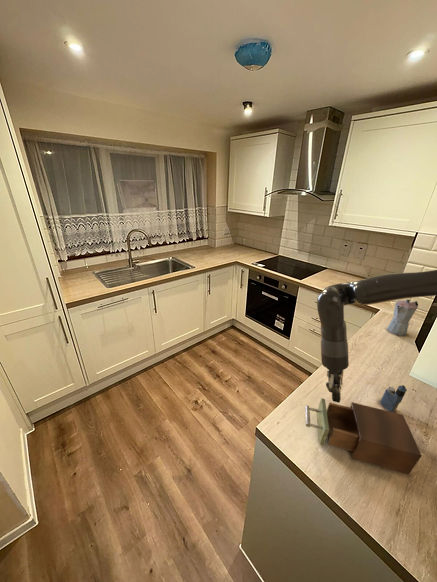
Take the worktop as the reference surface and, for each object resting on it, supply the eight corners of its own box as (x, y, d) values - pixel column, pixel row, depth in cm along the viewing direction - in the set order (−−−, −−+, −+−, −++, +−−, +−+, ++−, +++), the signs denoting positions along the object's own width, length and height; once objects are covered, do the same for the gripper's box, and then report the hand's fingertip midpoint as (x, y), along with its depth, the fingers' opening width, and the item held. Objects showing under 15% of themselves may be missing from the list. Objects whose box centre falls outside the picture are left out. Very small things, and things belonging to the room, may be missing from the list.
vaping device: (392, 414, 83) (405, 390, 78) (378, 402, 87) (389, 379, 82) (396, 412, 84) (409, 388, 79) (382, 400, 88) (393, 376, 83)
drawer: (303, 439, 73) (308, 424, 70) (302, 409, 83) (306, 394, 80) (368, 458, 68) (376, 443, 65) (359, 423, 78) (365, 409, 75)
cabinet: (352, 458, 69) (361, 438, 65) (344, 420, 80) (351, 402, 76) (408, 475, 66) (422, 455, 62) (392, 433, 77) (402, 414, 73)
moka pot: (378, 329, 132) (391, 297, 123) (397, 324, 137) (410, 293, 129) (395, 338, 124) (410, 306, 115) (414, 333, 129) (429, 301, 121)
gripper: (343, 363, 64) (345, 418, 68) (352, 344, 74) (353, 392, 78) (315, 358, 69) (318, 409, 72) (326, 340, 79) (329, 386, 82)
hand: (336, 400), depth 75 cm, fingers closed
